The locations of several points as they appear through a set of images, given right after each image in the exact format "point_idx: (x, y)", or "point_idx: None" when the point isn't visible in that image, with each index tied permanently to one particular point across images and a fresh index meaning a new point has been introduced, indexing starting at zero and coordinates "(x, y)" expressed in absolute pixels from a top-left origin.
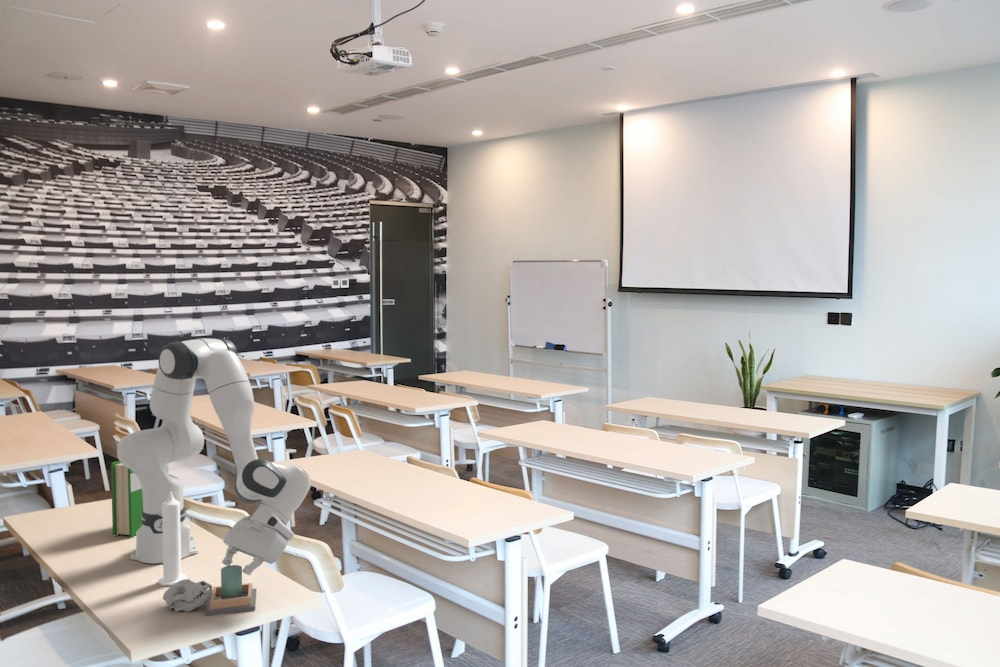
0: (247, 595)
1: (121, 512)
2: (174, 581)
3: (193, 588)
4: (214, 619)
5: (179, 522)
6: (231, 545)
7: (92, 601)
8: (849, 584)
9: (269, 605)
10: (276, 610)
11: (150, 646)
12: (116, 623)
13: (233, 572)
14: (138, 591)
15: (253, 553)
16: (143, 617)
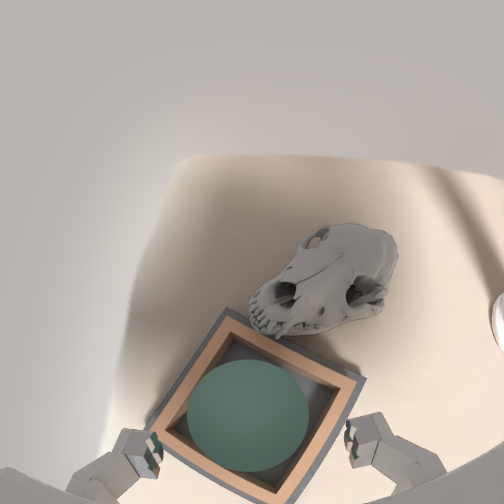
0: None
1: None
2: (501, 320)
3: (294, 266)
4: (183, 318)
5: None
6: (422, 483)
7: (463, 176)
8: None
9: (146, 478)
10: None
11: (177, 173)
12: (338, 163)
13: (191, 398)
14: (486, 246)
15: (93, 501)
16: (336, 202)
